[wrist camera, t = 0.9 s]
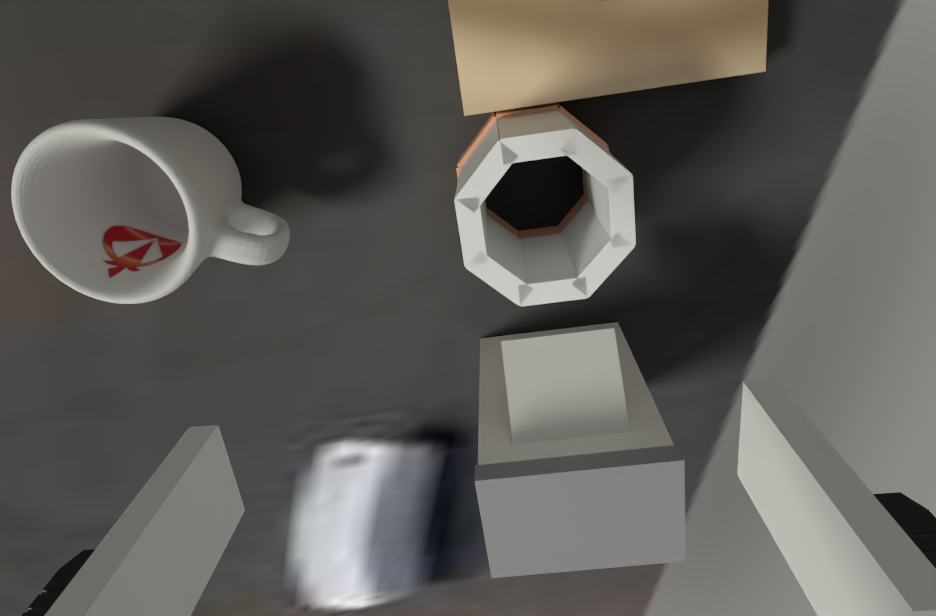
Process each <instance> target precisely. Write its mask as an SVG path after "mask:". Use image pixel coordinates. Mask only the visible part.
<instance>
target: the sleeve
mask: <svg viewBox="0 0 936 616" xmlns="http://www.w3.org/2000/svg"><path fill="white" fill-rule="evenodd" d="M561 156H568V157H569V158H571V159H572V160H573V161H574V162H576V163H577V164H578V165H579V166H581V167H582V176H583V190H584V195H583V196H582V197H581V198H580V199H579V201H578V202H577V203H576V204H575V205H574V207H573V208H572V209H571V210H570V211H569V213H568V214H567V215H566V216H565V217H564V219H563V220H562V221H561V222H560V223H559V225H558V226H551V227H544V228H536V229H528V230H521V231H518V230H516V229H515V228H514V227H512V226H511V225H510V224H508V223H507V222H506V221H504V220H503V219H502V218H500V217H499V216H498V215H496V214H495V213H494V212H492V211H491V210H490V209H488V208H487V206H486V199H485V198H486V197H487V196H488V195H489V193H490V192H491V191H492V189H493V188H494V187H495V186H496V184H497V183H498V182H499V180H500V179H501V178H502V176H503V175H504V174H505V173H506V171H507V170H508V169H509V167H510V166H511V165H512V164H513V163H518V162H525V161H532V160H539V159H546V158H553V157H561ZM456 170H457V177H458V183H457V188H456V194H455V199H454V202H455V208H456V215H457V221H458V227H459V234H460V240H461V247H462V253H463V260H464V266H465V267H466V269H468V270H469V271H470V272H472V273H473V274H475V275H476V276H477V277H479V278H480V279H482V280H483V281H484V282H486V283H487V284H489V285H490V286H491V287H493V288H494V289H496V290H497V291H498V292H500V293H501V294H503V295H504V296H505V297H507V298H508V299H510V300H511V301H512V302H514V303H515V304H517V305H518V306H530V305H538V304H546V303H554V302H562V301H571V300H579V299H587V296H588V297H590V296H591V295H592V294H593V293H594V292H595V290H596V289H597V288H598V287H599V286H600V285H601V284H602V283H603V282H604V280H605V279H606V278H607V277H608V276H609V275H610V274H611V273H612V272H613V270H614V269H615V268H616V267H617V266H618V265H619V264H620V263H621V262H622V261H623V259H624V258H625V257H626V256H627V255H628V254H629V253H630V252H631V251H632V249H633V248H634V247H635V245H636V236H635V212H634V188H633V175H632V173H630V172H629V171H628V170H627V169H626V168H625V167H624V166H623V165H622V164H621V163H620V162H619V161H618V160H617V159H616V158H615V157H614V156H613V155H612V154H611V153H610V152H609V146H608V144H607V143H606V142H604V141H603V140H602V139H601V138H600V137H599V136H597V135H596V134H595V133H594V132H592V131H591V130H590V129H589V128H588V127H586V126H585V125H584V124H583V123H581V122H580V121H579V120H578V119H577V118H575V117H574V116H573V115H572V114H570V113H569V112H568V111H567V110H565V109H564V108H563V107H562V106H561V105H559V104H558V103H557V104H556V103H548V104H542V105H535V106H528V107H521V108H515V109H508V110H501V111H496V114H495V113H492V115H491V116H490V117H489V119H488V120H487V122H486V123H485V124H484V126H483V127H482V128H481V130H480V131H479V132H478V134H477V135H476V137H475V138H474V139H473V141H472V142H471V143H470V145H469V146H468V147H467V149H466V150H465V152H464V153H463V154H462V156H461V157H460V158H459V160H458V163H457V167H456Z"/></svg>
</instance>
